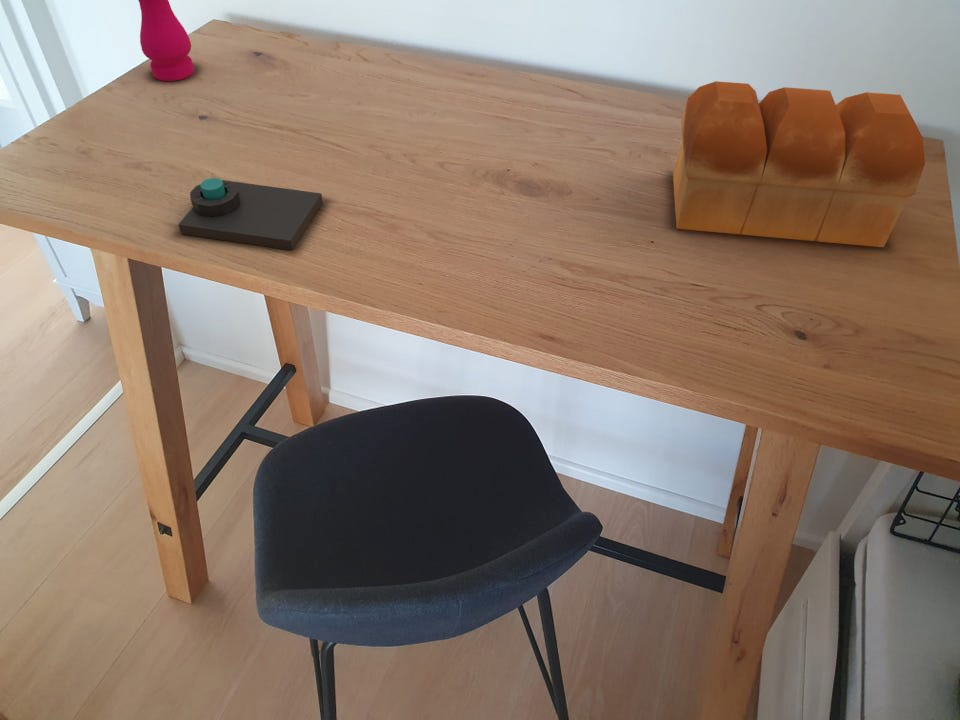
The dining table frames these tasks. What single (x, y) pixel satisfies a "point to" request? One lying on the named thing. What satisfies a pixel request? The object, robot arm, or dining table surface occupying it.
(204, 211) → the dark button base
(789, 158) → the bread
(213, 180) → the button
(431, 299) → the dining table surface
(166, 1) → the pepper mill
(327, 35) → the dining table surface
